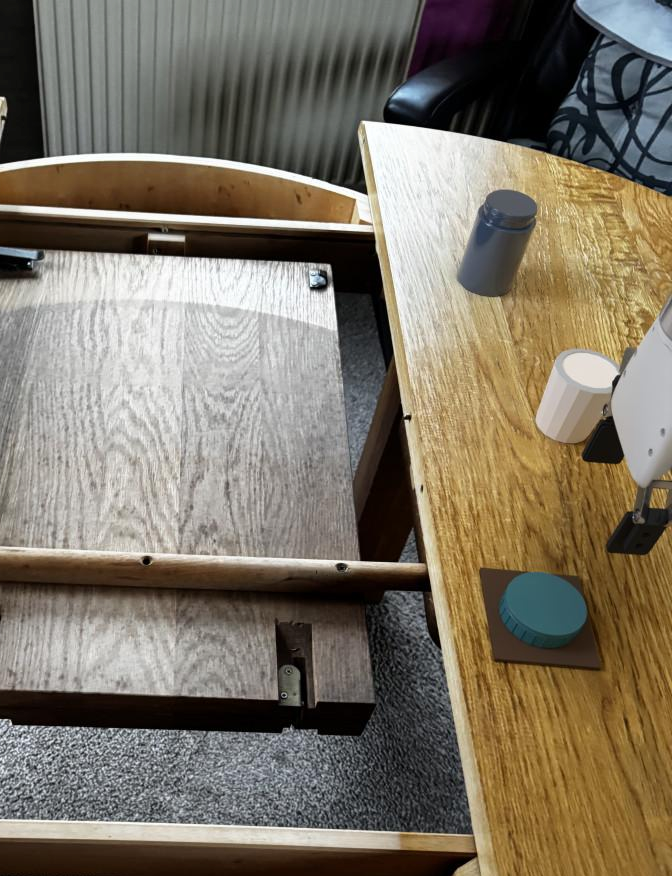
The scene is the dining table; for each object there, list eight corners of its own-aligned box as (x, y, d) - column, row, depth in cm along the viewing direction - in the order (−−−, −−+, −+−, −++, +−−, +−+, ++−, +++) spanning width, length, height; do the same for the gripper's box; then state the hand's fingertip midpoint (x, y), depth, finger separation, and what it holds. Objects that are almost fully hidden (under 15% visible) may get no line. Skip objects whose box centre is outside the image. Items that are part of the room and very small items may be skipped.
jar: (507, 266, 113) (536, 189, 105) (515, 299, 109) (546, 221, 101) (453, 261, 112) (479, 184, 105) (460, 293, 109) (486, 215, 101)
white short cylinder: (531, 442, 94) (558, 386, 88) (526, 398, 98) (552, 342, 92) (599, 452, 94) (630, 397, 88) (591, 407, 98) (621, 352, 92)
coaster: (577, 578, 84) (579, 575, 83) (599, 670, 78) (601, 667, 78) (478, 570, 83) (480, 567, 83) (493, 661, 78) (495, 658, 77)
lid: (570, 588, 82) (579, 574, 81) (585, 652, 78) (595, 639, 77) (493, 581, 82) (500, 567, 81) (504, 645, 78) (512, 632, 77)
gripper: (829, 414, 54) (686, 594, 68) (744, 245, 64) (635, 432, 78) (702, 405, 54) (585, 586, 68) (636, 236, 64) (546, 425, 78)
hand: (612, 504), depth 73 cm, fingers open, 9 cm apart
